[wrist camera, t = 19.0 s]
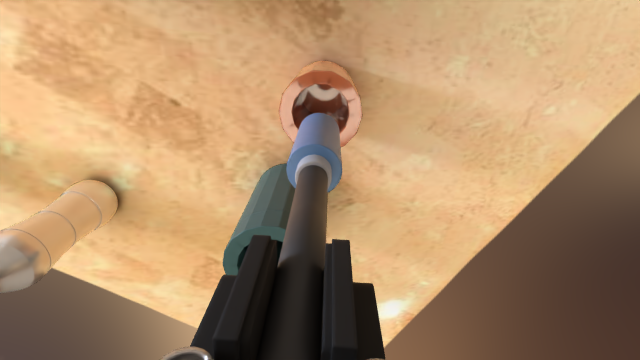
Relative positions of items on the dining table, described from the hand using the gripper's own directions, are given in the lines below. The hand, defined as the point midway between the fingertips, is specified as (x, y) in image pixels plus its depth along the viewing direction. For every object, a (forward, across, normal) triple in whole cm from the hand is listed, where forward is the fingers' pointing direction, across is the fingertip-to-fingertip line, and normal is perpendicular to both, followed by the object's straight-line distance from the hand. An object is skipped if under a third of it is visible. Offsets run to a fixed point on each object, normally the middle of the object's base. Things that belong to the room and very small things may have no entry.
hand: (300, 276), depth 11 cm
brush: (+17, 0, 0) cm, 17 cm away
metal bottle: (+33, +31, +16) cm, 48 cm away
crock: (+33, 0, 0) cm, 33 cm away
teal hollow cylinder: (+33, +4, +14) cm, 36 cm away
